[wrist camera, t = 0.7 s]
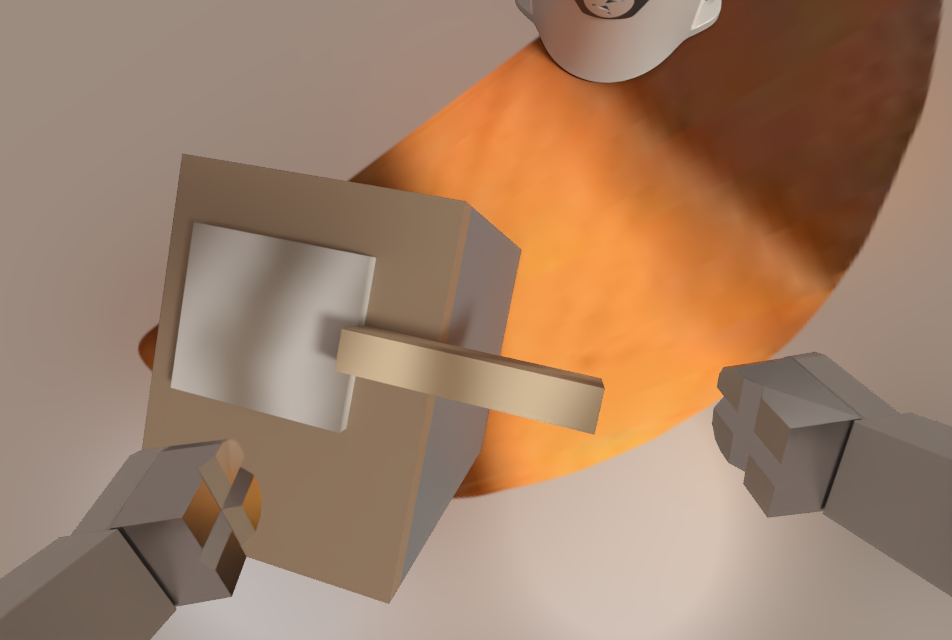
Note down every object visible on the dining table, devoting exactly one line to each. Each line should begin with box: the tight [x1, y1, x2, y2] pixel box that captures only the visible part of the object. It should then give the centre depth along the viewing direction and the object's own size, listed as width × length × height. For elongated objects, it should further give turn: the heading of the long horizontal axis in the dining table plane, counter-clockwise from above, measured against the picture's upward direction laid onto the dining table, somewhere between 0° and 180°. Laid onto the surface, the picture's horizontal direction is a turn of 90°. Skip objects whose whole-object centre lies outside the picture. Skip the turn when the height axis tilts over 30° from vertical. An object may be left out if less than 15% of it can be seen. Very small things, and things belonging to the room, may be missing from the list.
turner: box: [171, 222, 605, 434], centre depth 24 cm, size 22×9×2 cm, turn 79°
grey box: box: [142, 154, 521, 604], centre depth 39 cm, size 21×16×26 cm
